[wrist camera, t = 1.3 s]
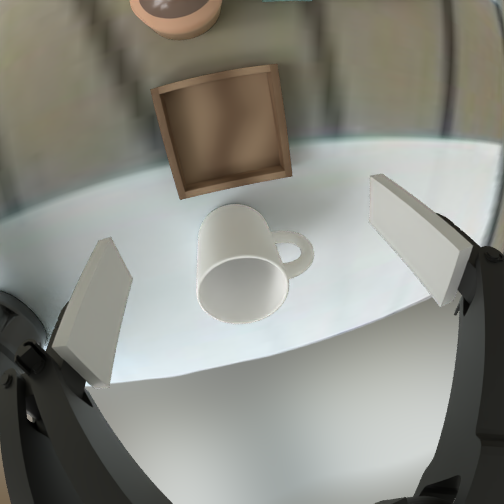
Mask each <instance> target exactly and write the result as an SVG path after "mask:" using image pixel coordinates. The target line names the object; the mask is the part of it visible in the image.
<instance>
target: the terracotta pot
mask: <svg viewBox="0 0 504 504" xmlns="http://www.w3.org/2000/svg"><path fill="white" fill-rule="evenodd" d="M130 5H131V8H132V10H133V12H134V13H135V14H136V15H137V16H138V17H139V18H140V19H141V20H142V21H143V22H144V23H146V24H147V25H148V26H149V27H150V28H151V29H153V30H154V31H155V32H156V33H157V34H159V35H160V36H162V37H165V38H167V39H171V40H187V39H191V38H195V37H197V36H200V35H201V34H203V33H205V32H206V31H208V30H209V29H210V28H211V27H212V26H213V25H214V24H215V23H216V21H217V19H218V17H219V15H220V11H221V5H222V0H130Z"/></svg>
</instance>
